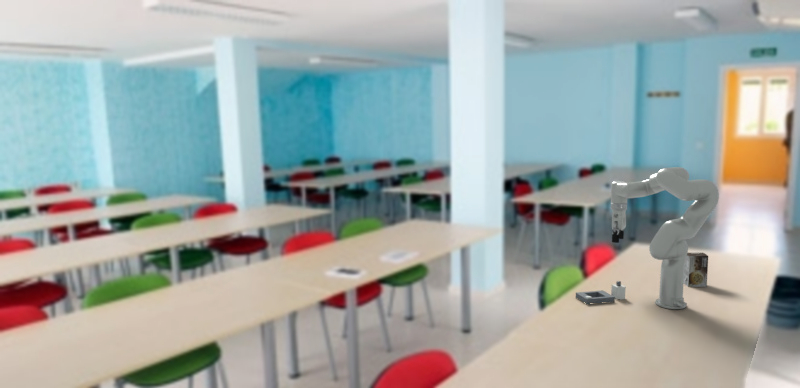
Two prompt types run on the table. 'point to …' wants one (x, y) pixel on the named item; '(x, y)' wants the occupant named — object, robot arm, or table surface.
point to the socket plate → (595, 297)
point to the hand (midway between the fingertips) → (617, 240)
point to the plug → (618, 290)
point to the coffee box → (696, 270)
